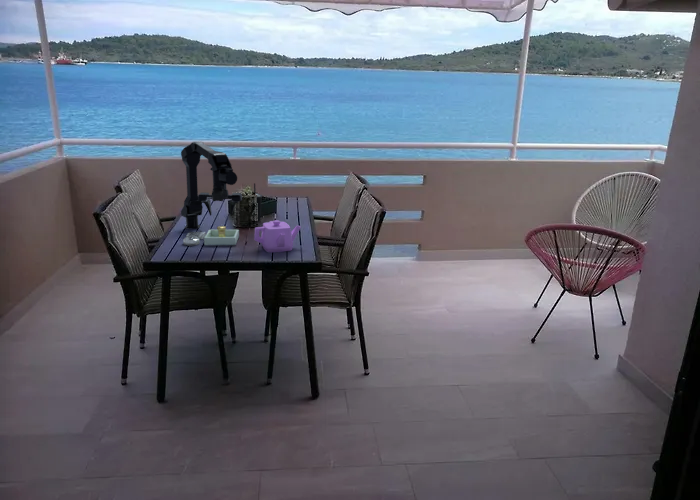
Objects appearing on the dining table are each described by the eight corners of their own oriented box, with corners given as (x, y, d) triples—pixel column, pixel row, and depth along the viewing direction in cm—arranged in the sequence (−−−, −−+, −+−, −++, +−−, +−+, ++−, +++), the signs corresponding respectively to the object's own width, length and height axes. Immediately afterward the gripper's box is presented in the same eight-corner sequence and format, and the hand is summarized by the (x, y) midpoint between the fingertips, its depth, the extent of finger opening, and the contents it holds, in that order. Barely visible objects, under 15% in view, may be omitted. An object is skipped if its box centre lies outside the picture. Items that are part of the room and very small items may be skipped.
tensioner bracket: (189, 234, 238) (189, 229, 237) (205, 234, 238) (205, 229, 238) (181, 245, 221) (180, 240, 220) (198, 245, 222) (198, 240, 221)
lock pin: (218, 238, 231) (217, 225, 230) (227, 238, 232) (226, 225, 230) (217, 240, 228) (216, 228, 226) (226, 240, 228) (225, 228, 226)
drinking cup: (248, 222, 263) (247, 184, 257) (247, 219, 270) (246, 182, 264) (263, 222, 265) (262, 184, 259) (262, 218, 272) (261, 182, 266)
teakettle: (270, 240, 234) (270, 214, 230) (302, 245, 228) (302, 219, 224) (250, 250, 219) (249, 222, 215) (283, 255, 213) (283, 227, 209)
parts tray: (209, 236, 236) (209, 229, 235) (239, 236, 237) (238, 229, 236) (204, 245, 223) (204, 237, 222) (235, 245, 224) (235, 237, 223)
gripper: (194, 184, 214) (196, 219, 219) (238, 185, 216) (239, 220, 220) (199, 180, 224) (201, 213, 229) (241, 180, 226) (242, 214, 231)
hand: (221, 215), depth 227 cm, fingers open, 9 cm apart
